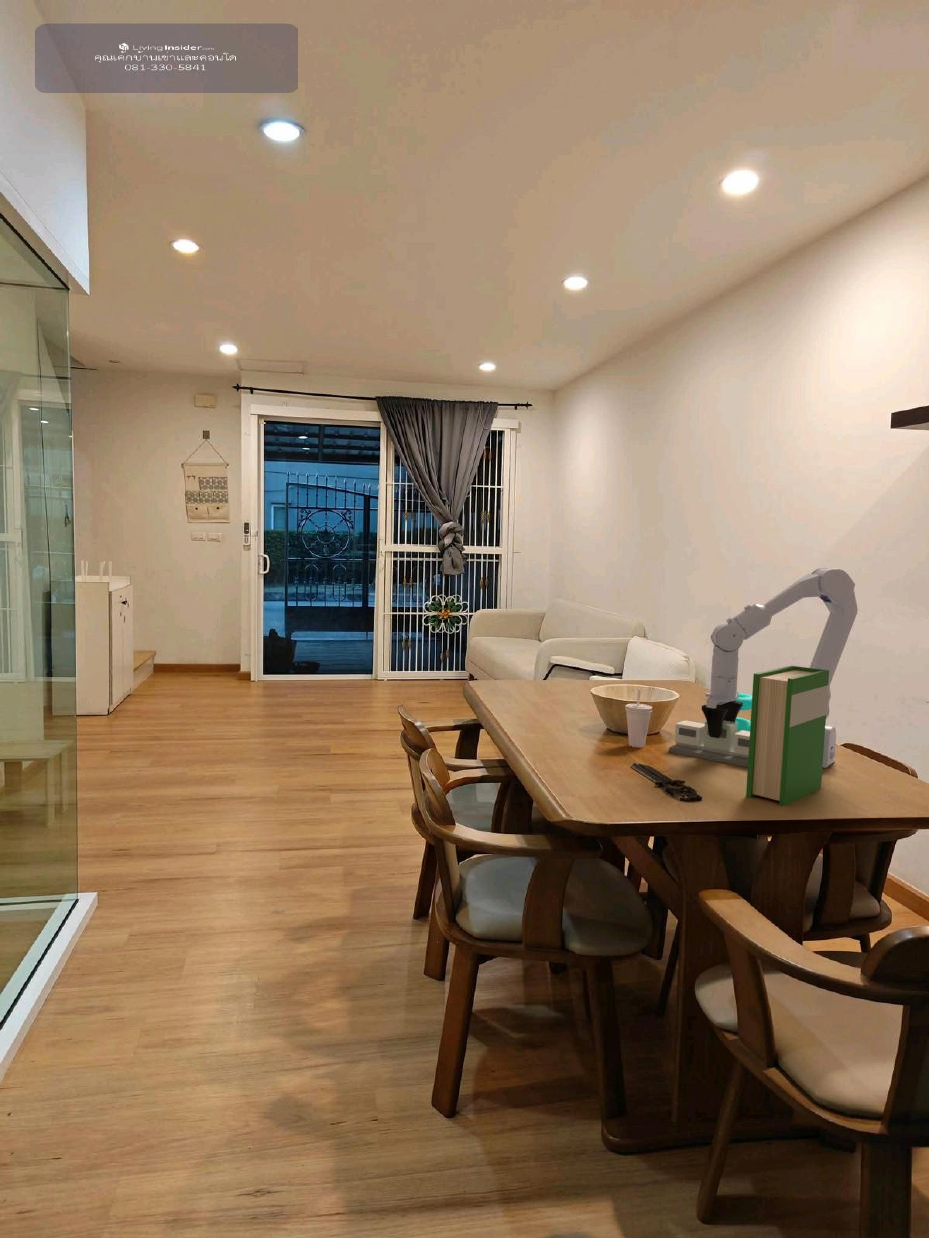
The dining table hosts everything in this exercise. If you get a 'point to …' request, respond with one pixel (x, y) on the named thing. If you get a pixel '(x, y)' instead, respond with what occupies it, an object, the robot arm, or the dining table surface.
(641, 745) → the smoothie
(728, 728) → the block
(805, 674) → the hardback book
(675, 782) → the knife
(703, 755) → the plate
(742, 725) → the donuts
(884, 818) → the dining table surface
